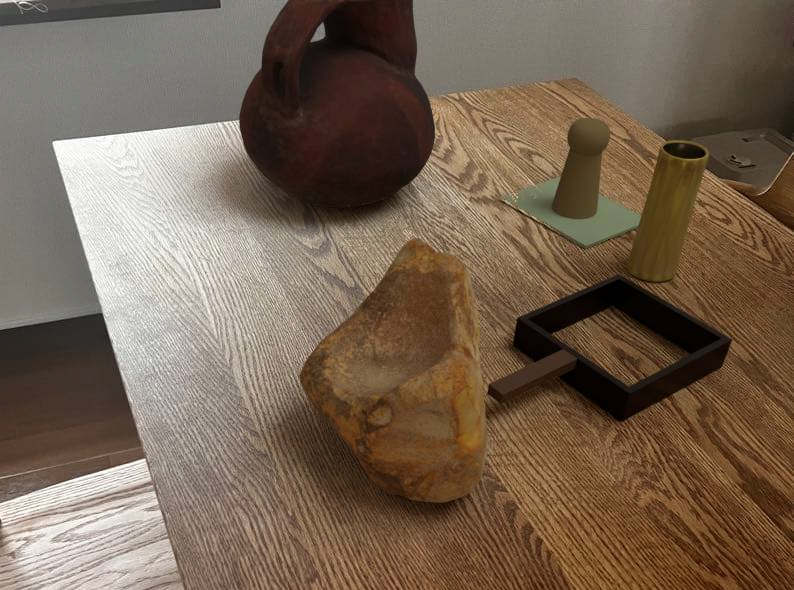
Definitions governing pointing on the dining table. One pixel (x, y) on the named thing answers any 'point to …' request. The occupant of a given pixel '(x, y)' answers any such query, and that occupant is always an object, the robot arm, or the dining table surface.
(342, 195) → the jug
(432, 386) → the rough brown rock
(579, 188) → the olive pawn figure
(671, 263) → the vase
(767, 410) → the dining table surface
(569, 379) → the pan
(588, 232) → the mat
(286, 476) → the dining table surface
